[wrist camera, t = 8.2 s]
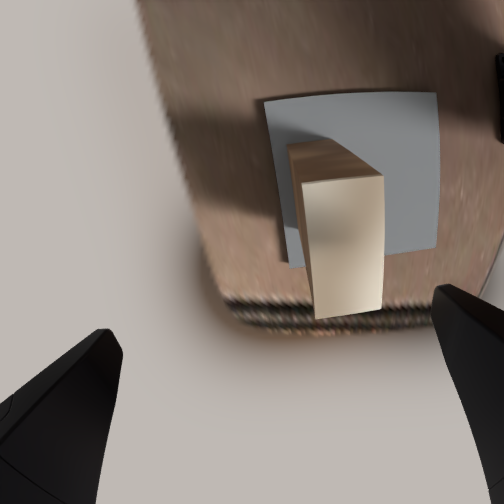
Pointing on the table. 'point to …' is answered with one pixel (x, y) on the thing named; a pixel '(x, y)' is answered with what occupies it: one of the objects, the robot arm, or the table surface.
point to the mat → (368, 157)
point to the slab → (339, 226)
